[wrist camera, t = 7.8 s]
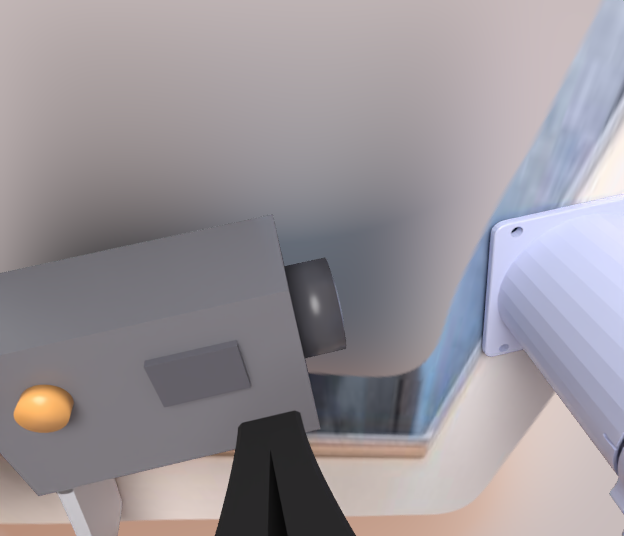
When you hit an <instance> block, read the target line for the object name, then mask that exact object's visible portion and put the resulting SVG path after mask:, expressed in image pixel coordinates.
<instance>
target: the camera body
mask: <svg viewBox="0 0 624 536" xmlns="http://www.w3.org/2000/svg"><path fill="white" fill-rule="evenodd" d="M343 349H346V339H345V332H344V321H343V316H342V310H341V306H340V301H339V297H338V293H337V289H336V286H335V282H334V279H333V277H332V274H331V271H330V268H329V265H328V262H327V260H326V258H321V259H316V260H311V261H307V262H302V263H298V264H293V265H289V266H284V262H283V258H282V253H281V249H280V244H279V240H278V236H277V231H276V227H275V222H274V218H273V215H267V216H263V217H258V218H254V219H249V220H244V221H239V222H235V223H230V224H225V225H221V226H216V227H212V228H207V229H202V230H198V231H193V232H188V233H184V234H180V235H175V236H170V237H165V238H161V239H156V240H152V241H147V242H143V243H138V244H133V245H128V246H124V247H119V248H114V249H110V250H105V251H100V252H96V253H91V254H86V255H82V256H77V257H73V258H68V259H63V260H59V261H54V262H50V263H45V264H40V265H36V266H31V267H26V268H22V269H17V270H13V271H8V272H4V273H0V454H1V455H2V456H3V457H4V458H5V459H6V460H7V461H8V463H9V464H10V465H11V466H12V467H13V468H14V469H15V470H16V471H17V473H18V474H19V475H20V476H21V477H22V478H23V479H24V480H25V482H26V483H27V484H28V485H29V486H30V487H31V488H32V489H33V490H34V492H35V493H36V494H37V495H38V496H41V495H46V494H50V493H54V492H58V491H62V490H67V489H71V488H75V487H79V486H83V485H87V484H92V483H96V482H100V481H104V480H108V479H113V478H117V477H121V476H125V475H129V474H134V473H138V472H142V471H146V470H150V469H154V468H159V467H163V466H167V465H171V464H175V463H180V462H184V461H188V460H192V459H196V458H201V457H205V456H209V455H213V454H217V453H221V452H226V451H230V450H234V449H235V448H236V441H237V433H238V427H239V426H240V424H241V423H243V422H247V421H252V420H256V419H260V418H264V417H268V416H273V415H277V414H281V413H285V412H290V411H294V410H295V411H298V412H300V413H301V417H302V421H303V425H304V429H305V432H309V431H314V430H318V429H320V425H319V420H318V416H317V411H316V406H315V402H314V397H313V393H312V388H311V383H310V379H309V374H308V369H307V365H306V360H305V358H308V357H312V356H317V355H321V354H325V353H330V352H334V351H338V350H343Z"/></svg>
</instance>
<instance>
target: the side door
mask: <svg viewBox="0 0 624 536" xmlns="http://www.w3.org/2000/svg"><path fill="white" fill-rule="evenodd" d="M56 493H58V495H59V498H60V500H61V502H62V504H63V507H64V509H65V511H66V513H67V516H68V518H69V520H70V522H71V524H72V527H73V529H74V531H75V533H76V536H118V530H119V524H120V518H121V511H122V505H123V503H122V500H121V497H120V494H119V490H118V487H117V484H116V481H115V478H113V479H108V480H104V481H100V482H96V483H92V484H87V485H83V486H79V487H75V488H71V489H67V490H62V491H58V492H56Z"/></svg>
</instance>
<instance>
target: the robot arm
mask: <svg viewBox="0 0 624 536" xmlns="http://www.w3.org/2000/svg"><path fill="white" fill-rule="evenodd" d="M516 227H518V228H517V230H516V231H515V232H513V233H511V232H512V230H513V229H514V228H516ZM482 349H483V351H484V353H485V354H486V355H487V356H490V357H491V356H497V355H501V354H506V353H510V352H514V351H518V350H523V349H524V350H525V352H526V353H527V354H528V356H529V357H530V358H531V360H532V361H533V363H534V364H535V365H536V367H537V368H538V369H539V371H540V372H541V373H542V375H543V376H544V377H545V379H546V380H547V381H548V383H549V384H550V385H551V387H552V388H553V389H554V391H555V392H556V393H557V395H558V396H559V397H560V399H561V400H562V401H563V403H564V404H565V405H566V407H567V408H568V409H569V411H570V412H571V413H572V415H573V416H574V417H575V419H576V420H577V422H578V423H579V424H580V425H581V427H582V428H583V429H584V431H585V432H586V434H587V435H588V436H589V438H590V439H591V440H592V442H593V443H594V444H595V445H596V447H597V448H598V450H599V451H600V452H601V454H602V455H603V456H604V458H605V459H606V460H607V461H608V463H609V464H610V466H611V467H612V468H613V470H614V471H615V472H616V474H617V475H618V481H617V483H616V484H615V486H614V487H613V489H612V490H611V491H610V493H609V494H610V495H611V497H612V498H613V500H614V501H615V503H616V504H617V505H618V507H619V508H620V510H621V511H622V513H623V514H624V194H621V195H616V196H612V197H607V198H603V199H598V200H594V201H589V202H585V203H580V204H576V205H571V206H567V207H562V208H558V209H553V210H549V211H544V212H540V213H535V214H531V215H526V216H522V217H517V218H513V219H508V220H504V221H501V222H498V223H497V224H496V225H495V226H494V227H493V228H492V231H491V238H490V251H489V264H488V277H487V291H486V304H485V317H484V330H483V344H482ZM215 536H356V535H355V533H354V532H353V530H352V528H351V527H350V525H349V523H348V521H347V520H346V518H345V516H344V514H343V513H342V511H341V509H340V507H339V505H338V504H337V502H336V500H335V498H334V496H333V494H332V492H331V490H330V488H329V486H328V484H327V482H326V480H325V478H324V476H323V474H322V472H321V470H320V468H319V466H318V464H317V461H316V459H315V457H314V454H313V452H312V449H311V447H310V444H309V442H308V439H307V436H306V432H305V429H304V425H303V421H302V417H301V413H300V412H298V411H295V410H294V411H290V412H285V413H281V414H277V415H273V416H268V417H264V418H260V419H256V420H252V421H247V422H243V423H241V424H240V426H239V427H238V433H237V441H236V448H235V454H234V460H233V465H232V470H231V474H230V479H229V484H228V488H227V492H226V496H225V500H224V504H223V508H222V511H221V515H220V519H219V523H218V527H217V530H216V534H215ZM622 536H624V530H623V533H622Z"/></svg>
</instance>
